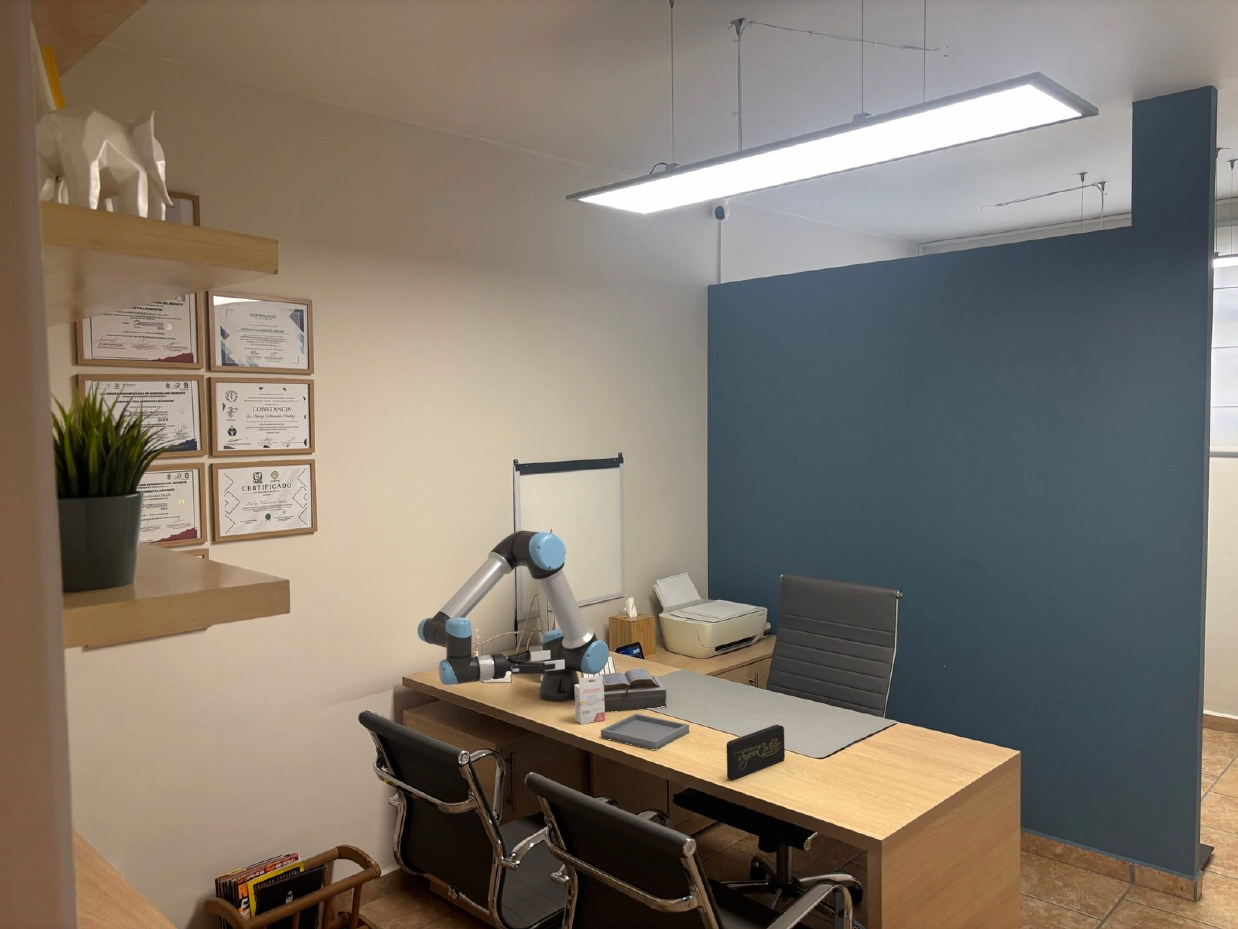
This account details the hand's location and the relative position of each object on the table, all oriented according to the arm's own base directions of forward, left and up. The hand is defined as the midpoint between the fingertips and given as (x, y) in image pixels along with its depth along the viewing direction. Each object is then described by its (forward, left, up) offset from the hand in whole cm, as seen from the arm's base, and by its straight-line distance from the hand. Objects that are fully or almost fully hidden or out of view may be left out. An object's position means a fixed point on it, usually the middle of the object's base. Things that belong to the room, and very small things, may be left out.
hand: (557, 659), depth 280 cm
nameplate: (-1, +69, -22) cm, 72 cm away
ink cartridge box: (-9, +5, -22) cm, 24 cm away
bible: (-31, +4, -22) cm, 38 cm away
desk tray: (-7, +28, -21) cm, 36 cm away
